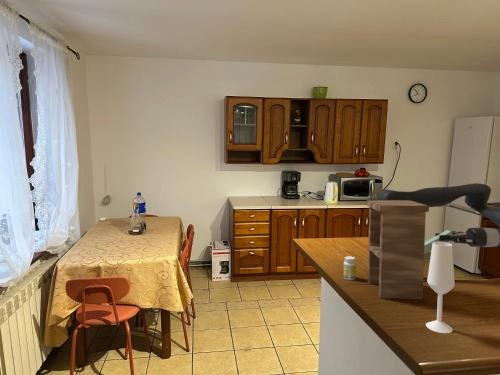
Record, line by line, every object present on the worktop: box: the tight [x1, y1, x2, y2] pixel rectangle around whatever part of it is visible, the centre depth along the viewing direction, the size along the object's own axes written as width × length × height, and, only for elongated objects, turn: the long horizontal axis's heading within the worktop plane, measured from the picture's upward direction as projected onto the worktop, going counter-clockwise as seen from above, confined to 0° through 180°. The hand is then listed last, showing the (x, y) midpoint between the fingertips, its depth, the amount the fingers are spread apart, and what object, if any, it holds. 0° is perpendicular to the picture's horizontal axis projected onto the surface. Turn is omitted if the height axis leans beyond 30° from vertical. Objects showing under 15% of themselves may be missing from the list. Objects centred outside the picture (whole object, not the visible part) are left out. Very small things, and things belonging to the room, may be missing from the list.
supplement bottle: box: [343, 255, 357, 281], centre depth 137 cm, size 5×5×8 cm
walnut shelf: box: [366, 199, 430, 300], centre depth 124 cm, size 16×16×32 cm
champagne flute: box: [425, 242, 456, 334], centre depth 96 cm, size 7×7×24 cm
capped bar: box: [424, 229, 453, 255], centre depth 138 cm, size 4×28×4 cm
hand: (437, 237), depth 137 cm, fingers closed on capped bar, 2 cm apart
